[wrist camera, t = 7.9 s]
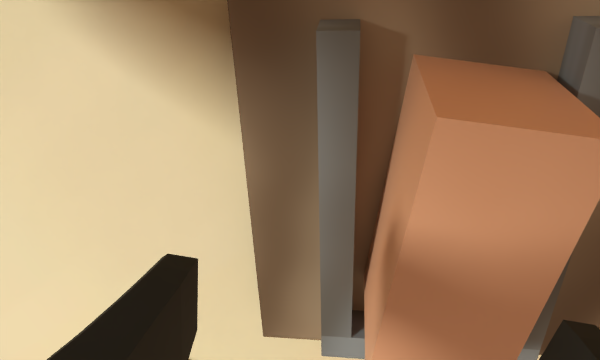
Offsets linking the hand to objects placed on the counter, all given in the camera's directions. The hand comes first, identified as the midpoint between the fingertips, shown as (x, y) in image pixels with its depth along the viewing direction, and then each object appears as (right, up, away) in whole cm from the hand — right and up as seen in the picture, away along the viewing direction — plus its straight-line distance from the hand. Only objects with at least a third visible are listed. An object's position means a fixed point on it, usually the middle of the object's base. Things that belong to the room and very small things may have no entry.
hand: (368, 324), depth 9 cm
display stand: (+4, +3, +8) cm, 10 cm away
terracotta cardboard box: (+4, +3, +7) cm, 8 cm away
